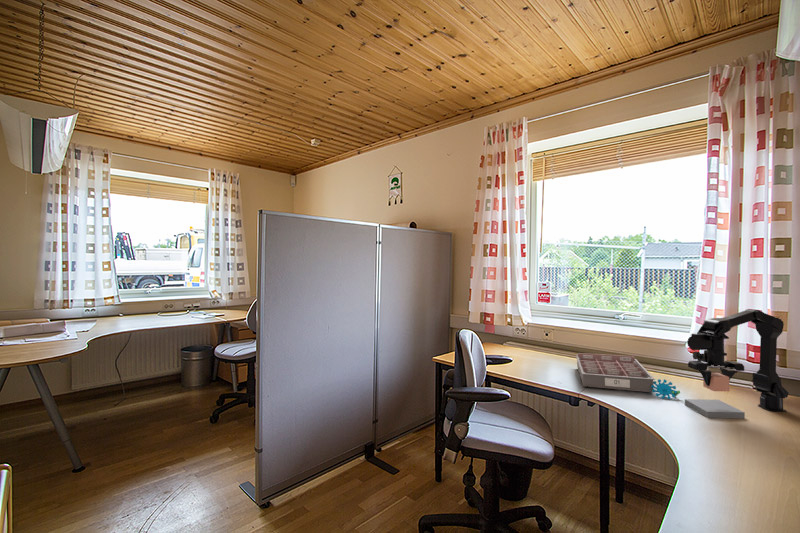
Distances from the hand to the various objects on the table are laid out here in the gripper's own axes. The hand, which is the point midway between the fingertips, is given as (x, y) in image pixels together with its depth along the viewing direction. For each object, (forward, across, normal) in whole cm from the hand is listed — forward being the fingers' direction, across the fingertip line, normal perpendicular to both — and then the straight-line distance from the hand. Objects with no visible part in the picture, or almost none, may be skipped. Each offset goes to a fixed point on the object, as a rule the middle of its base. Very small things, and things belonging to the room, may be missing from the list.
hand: (715, 385), depth 156 cm
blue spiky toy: (+12, +10, -18) cm, 23 cm away
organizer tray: (+12, +23, -43) cm, 50 cm away
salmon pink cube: (+1, 0, 0) cm, 1 cm away
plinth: (+11, 0, -1) cm, 11 cm away
